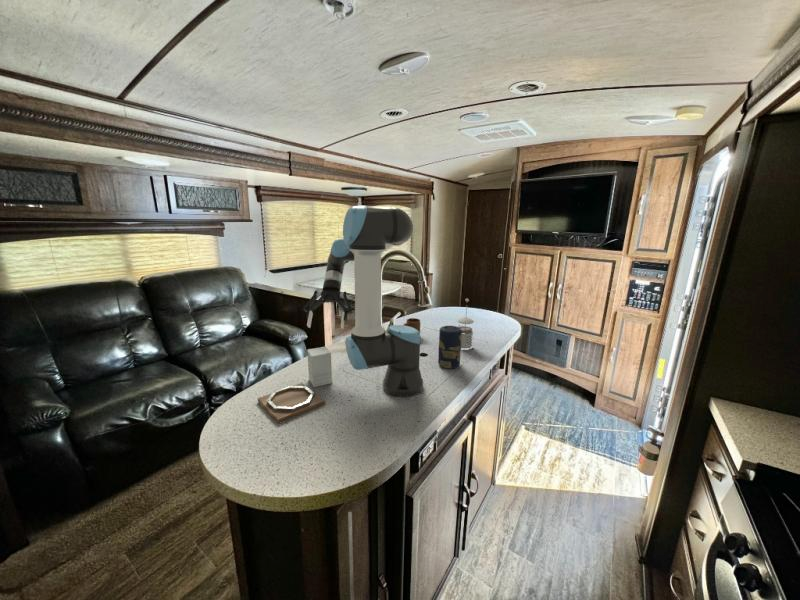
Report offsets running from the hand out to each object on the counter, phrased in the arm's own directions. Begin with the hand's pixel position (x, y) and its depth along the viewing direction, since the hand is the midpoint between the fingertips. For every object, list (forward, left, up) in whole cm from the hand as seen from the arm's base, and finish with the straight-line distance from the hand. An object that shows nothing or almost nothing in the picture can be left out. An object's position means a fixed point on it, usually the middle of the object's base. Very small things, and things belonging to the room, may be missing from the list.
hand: (325, 326), depth 128 cm
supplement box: (-8, +8, -19) cm, 22 cm away
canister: (-32, -41, -19) cm, 55 cm away
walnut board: (-15, +23, -18) cm, 33 cm away
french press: (-24, -63, -19) cm, 70 cm away
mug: (+3, -53, -19) cm, 56 cm away
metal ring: (-15, +23, -17) cm, 32 cm away
